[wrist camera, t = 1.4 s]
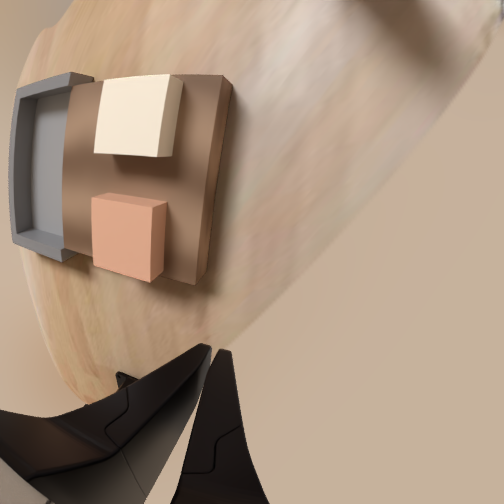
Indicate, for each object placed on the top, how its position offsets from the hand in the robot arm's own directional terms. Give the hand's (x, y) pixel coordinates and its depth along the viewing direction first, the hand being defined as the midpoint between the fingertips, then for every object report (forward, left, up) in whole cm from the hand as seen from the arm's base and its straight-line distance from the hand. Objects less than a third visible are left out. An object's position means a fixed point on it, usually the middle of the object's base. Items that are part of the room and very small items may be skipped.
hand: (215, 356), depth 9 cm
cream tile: (+8, +9, -10) cm, 15 cm away
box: (+4, +21, -12) cm, 25 cm away
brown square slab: (+4, +10, -12) cm, 16 cm away
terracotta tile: (0, +9, -10) cm, 13 cm away
